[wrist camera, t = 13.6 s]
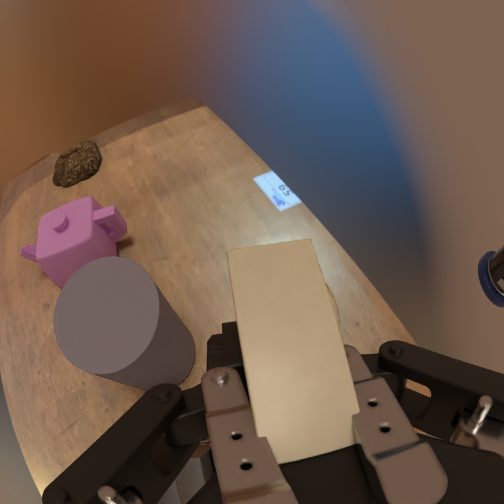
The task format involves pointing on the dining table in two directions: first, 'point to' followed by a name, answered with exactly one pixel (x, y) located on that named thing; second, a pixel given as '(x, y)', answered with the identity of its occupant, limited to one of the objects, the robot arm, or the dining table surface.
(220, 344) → the robot arm
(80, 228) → the teapot
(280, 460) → the cream book
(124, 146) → the dining table surface
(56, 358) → the dining table surface
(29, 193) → the dining table surface
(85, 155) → the bread roll
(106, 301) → the grey upright cylinder
